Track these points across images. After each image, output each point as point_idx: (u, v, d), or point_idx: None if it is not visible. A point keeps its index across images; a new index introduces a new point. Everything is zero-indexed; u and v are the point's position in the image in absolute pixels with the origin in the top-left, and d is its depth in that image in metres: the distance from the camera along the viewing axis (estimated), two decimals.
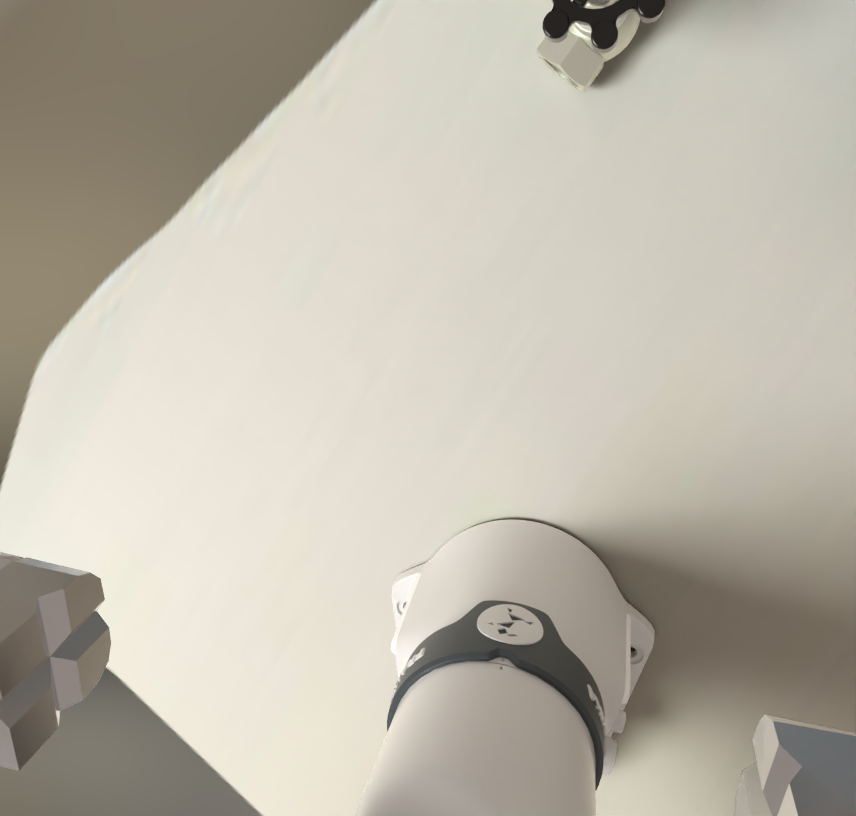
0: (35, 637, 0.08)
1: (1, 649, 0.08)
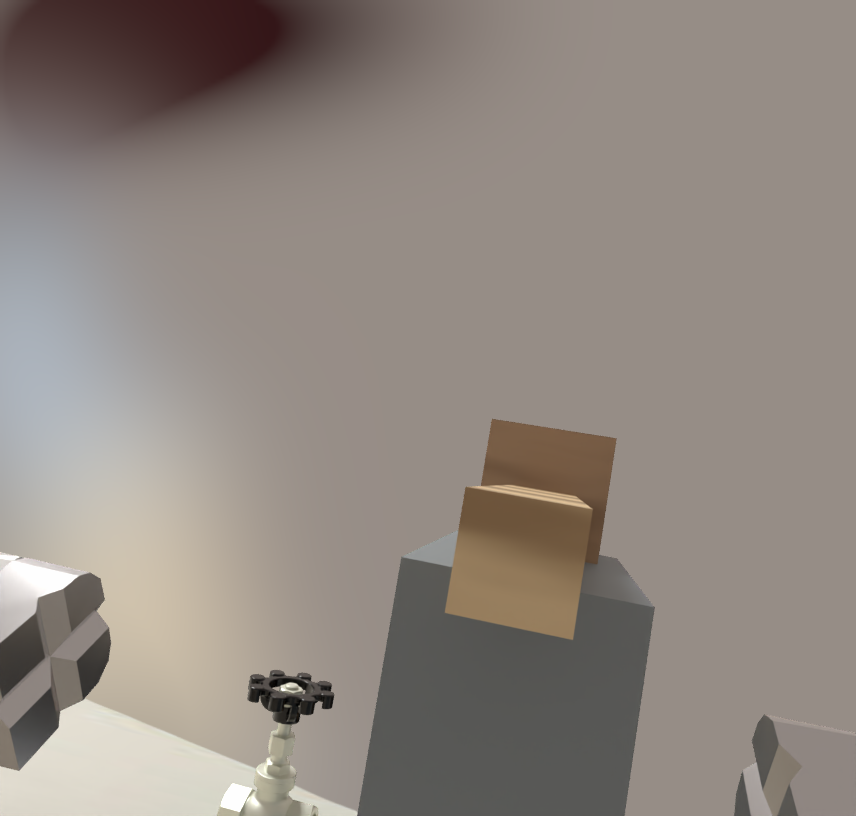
0: (35, 637, 0.08)
1: (1, 649, 0.08)
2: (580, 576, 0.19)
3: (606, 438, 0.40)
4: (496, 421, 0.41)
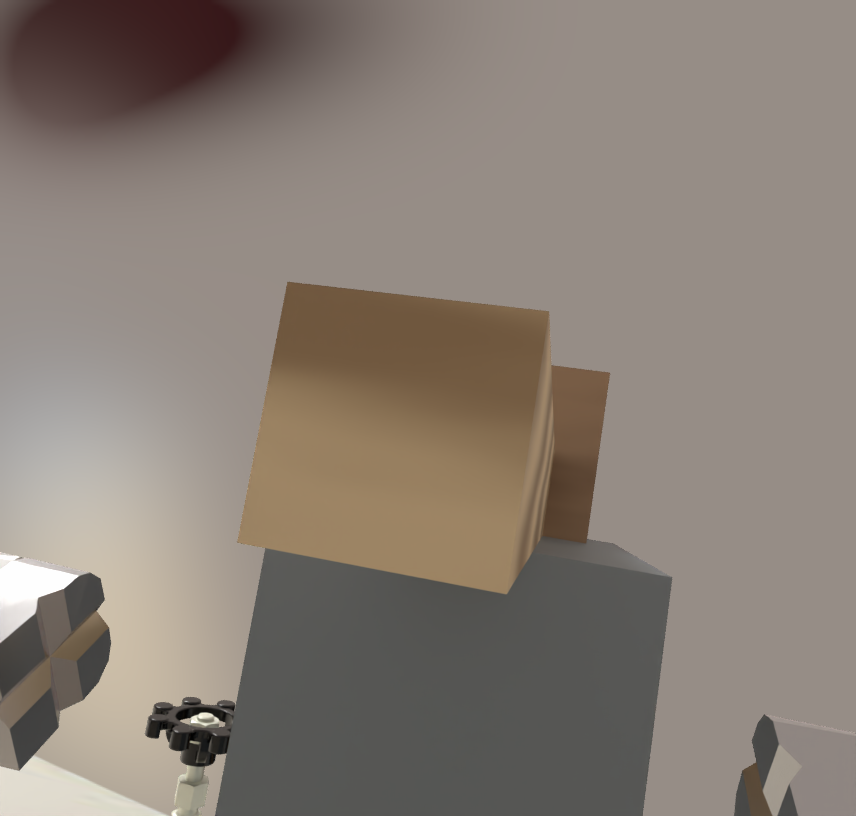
0: (35, 637, 0.08)
1: (1, 649, 0.08)
2: (522, 454, 0.09)
3: (596, 373, 0.30)
4: None
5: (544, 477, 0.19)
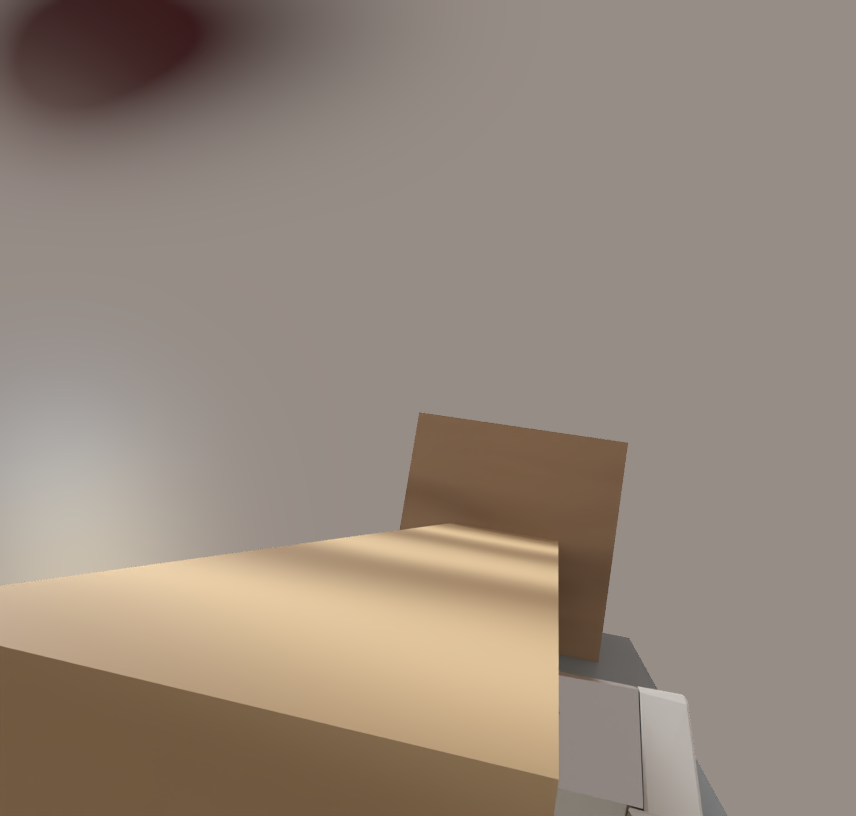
0: None
1: None
2: None
3: (610, 443, 0.23)
4: (426, 416, 0.25)
5: None
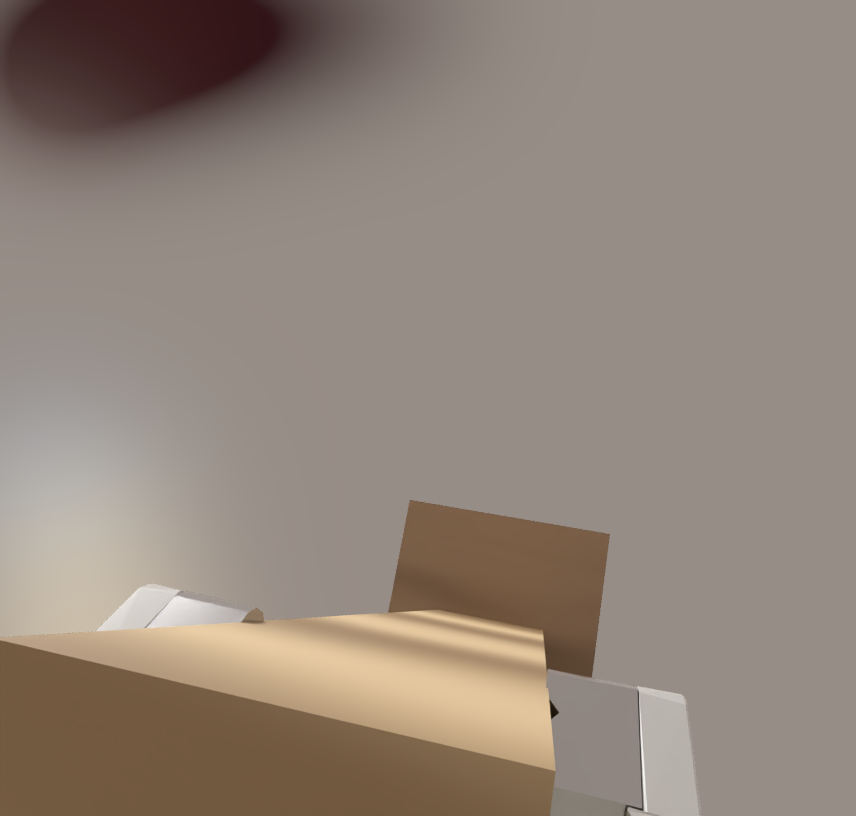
0: None
1: None
2: None
3: (593, 534, 0.24)
4: (416, 504, 0.26)
5: None
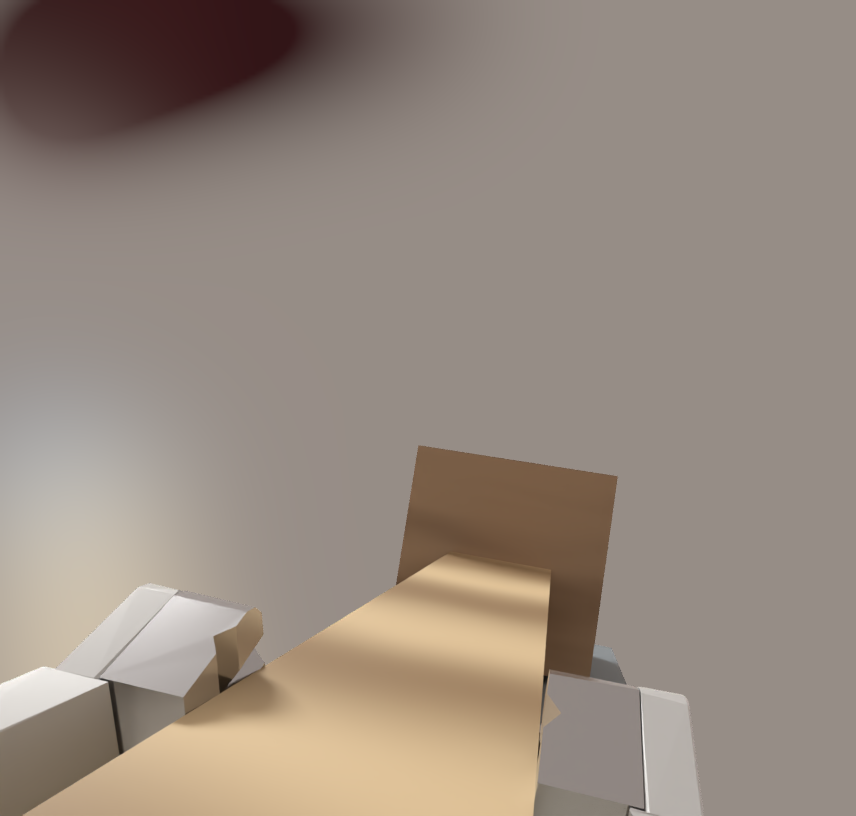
0: (213, 678, 0.08)
1: (190, 694, 0.07)
2: None
3: (601, 476, 0.25)
4: (425, 449, 0.26)
5: None
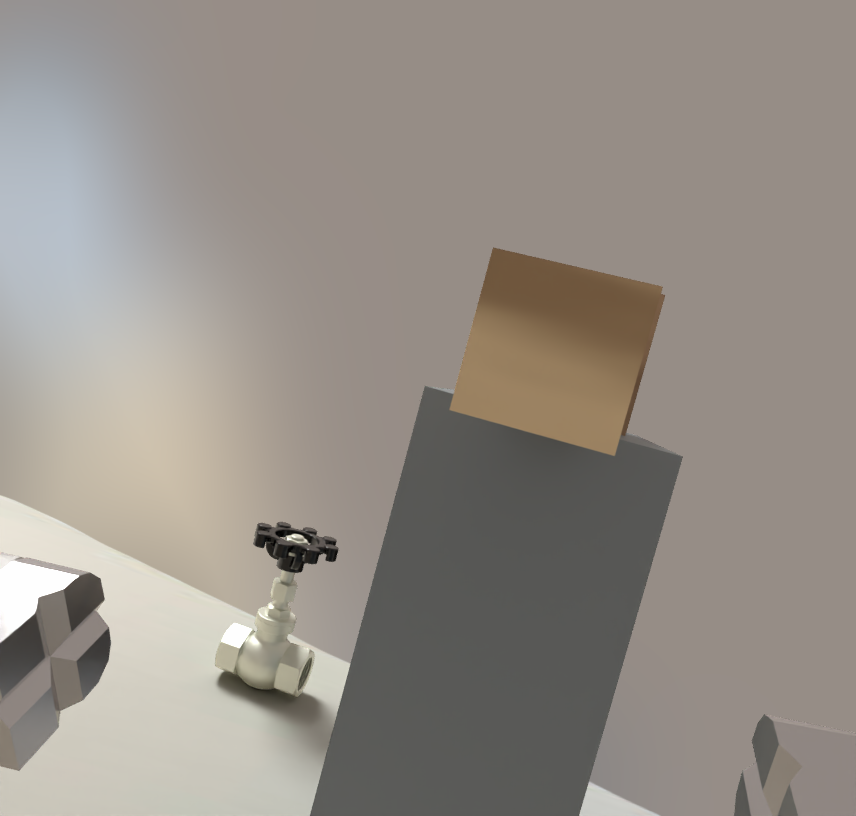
0: (35, 637, 0.08)
1: (1, 649, 0.08)
2: (635, 374, 0.14)
3: None
4: None
5: None
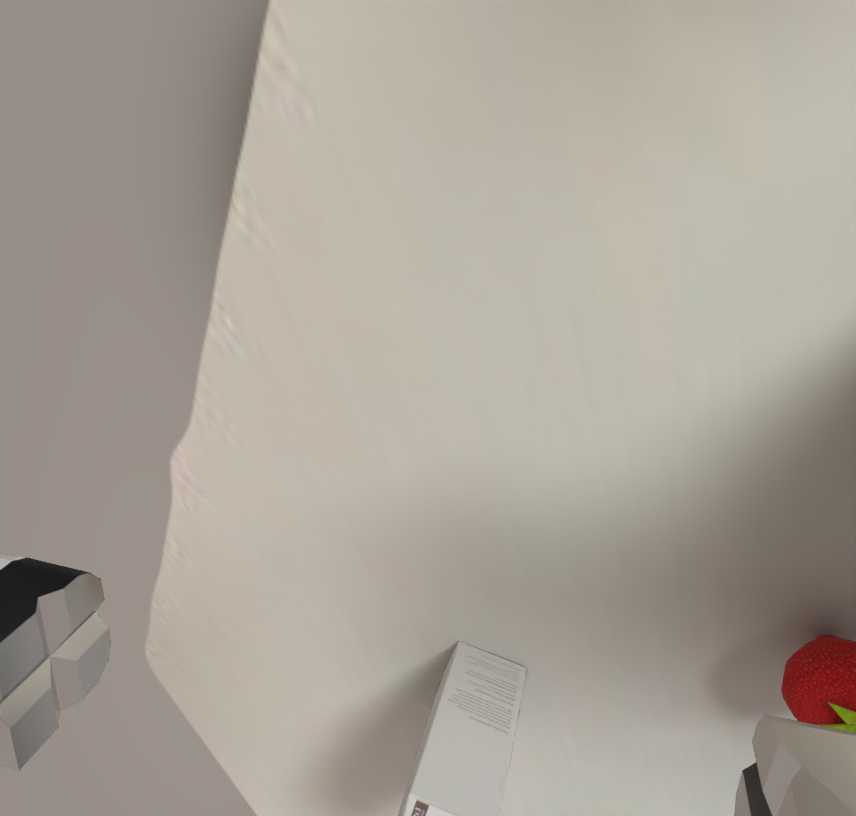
0: (35, 637, 0.08)
1: (1, 649, 0.08)
2: None
3: None
4: None
5: None
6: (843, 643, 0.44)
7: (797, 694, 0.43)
